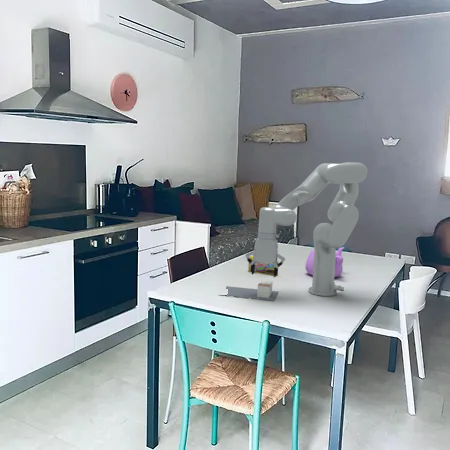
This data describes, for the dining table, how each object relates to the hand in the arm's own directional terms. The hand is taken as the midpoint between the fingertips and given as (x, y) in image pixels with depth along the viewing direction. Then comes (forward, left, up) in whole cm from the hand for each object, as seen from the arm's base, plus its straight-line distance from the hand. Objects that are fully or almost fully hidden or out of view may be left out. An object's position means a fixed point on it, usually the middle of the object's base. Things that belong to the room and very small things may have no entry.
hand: (263, 275), depth 200 cm
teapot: (-24, -47, -9) cm, 54 cm away
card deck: (-1, 0, -9) cm, 9 cm away
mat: (+6, 0, -9) cm, 11 cm away
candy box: (+7, -39, -10) cm, 41 cm away
